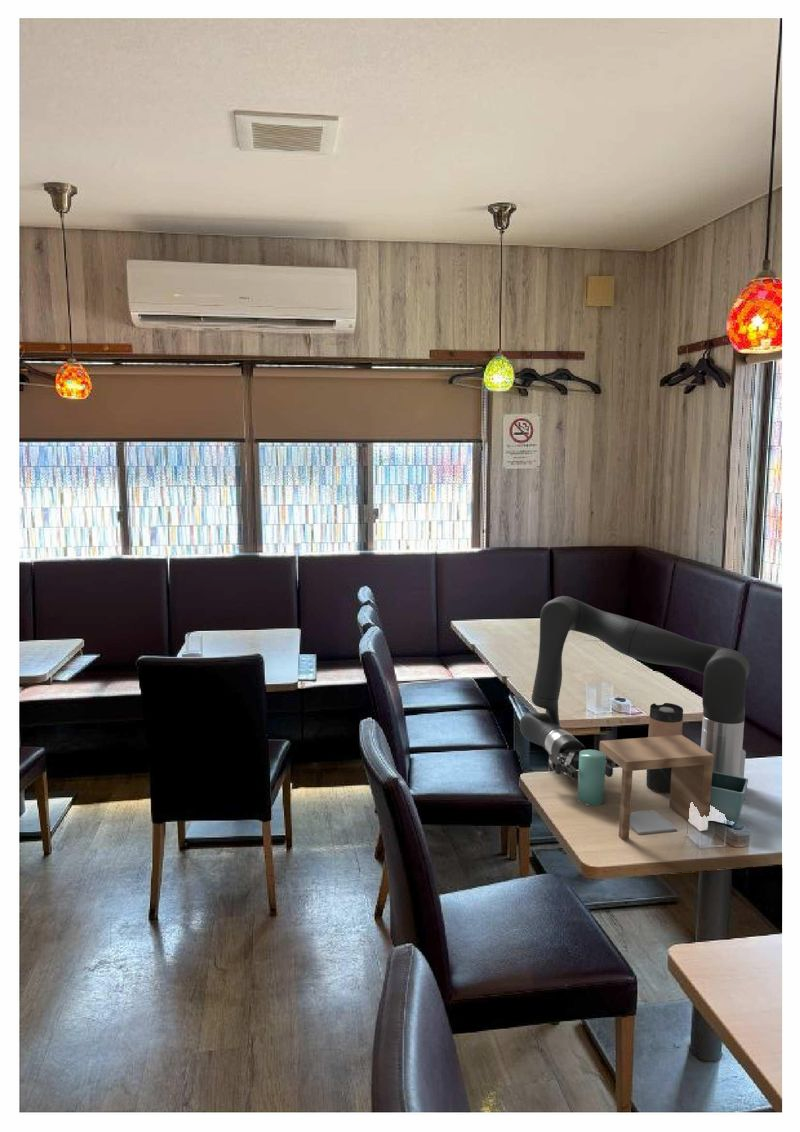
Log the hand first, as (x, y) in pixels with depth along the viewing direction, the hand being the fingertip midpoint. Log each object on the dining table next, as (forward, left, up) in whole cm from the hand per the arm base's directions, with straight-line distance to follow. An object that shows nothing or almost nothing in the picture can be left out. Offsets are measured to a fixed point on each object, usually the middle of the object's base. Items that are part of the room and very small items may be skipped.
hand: (593, 774), depth 181 cm
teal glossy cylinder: (0, -1, -7) cm, 7 cm away
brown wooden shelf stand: (-8, +12, -7) cm, 16 cm away
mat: (-7, +12, -7) cm, 15 cm away
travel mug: (-20, -4, -7) cm, 21 cm away
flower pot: (-24, +14, -7) cm, 29 cm away
